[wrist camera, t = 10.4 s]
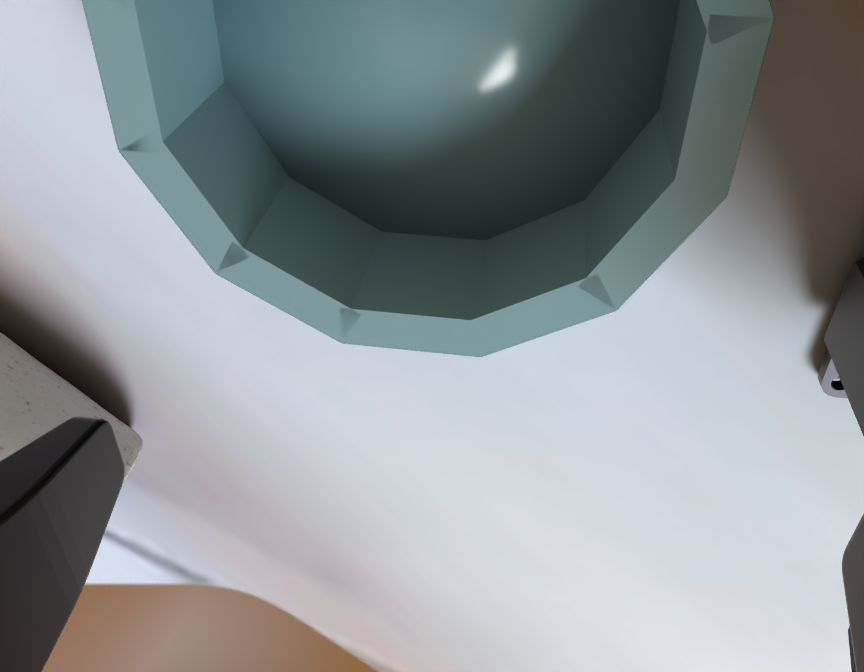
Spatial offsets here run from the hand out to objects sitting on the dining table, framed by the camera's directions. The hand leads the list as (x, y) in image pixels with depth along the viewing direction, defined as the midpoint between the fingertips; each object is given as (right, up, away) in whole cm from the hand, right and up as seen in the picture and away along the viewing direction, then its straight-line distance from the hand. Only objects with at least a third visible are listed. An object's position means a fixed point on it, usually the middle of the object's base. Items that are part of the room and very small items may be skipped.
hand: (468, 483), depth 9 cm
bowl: (0, +9, +9) cm, 12 cm away
